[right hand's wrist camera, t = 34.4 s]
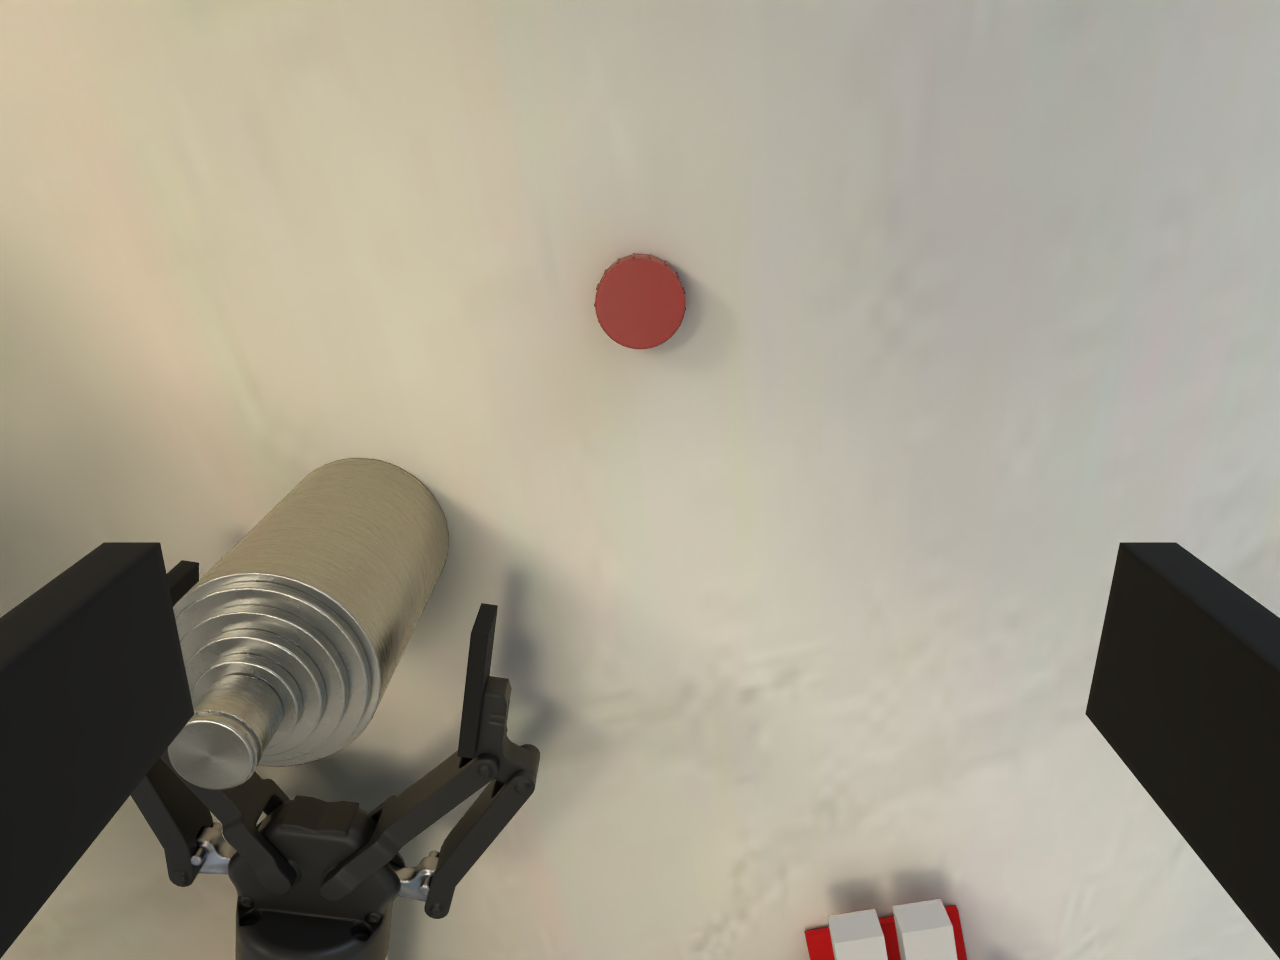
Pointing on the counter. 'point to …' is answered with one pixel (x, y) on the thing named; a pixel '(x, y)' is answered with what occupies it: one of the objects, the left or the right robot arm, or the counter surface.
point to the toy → (891, 934)
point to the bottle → (306, 621)
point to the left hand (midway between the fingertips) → (331, 595)
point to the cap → (640, 301)
